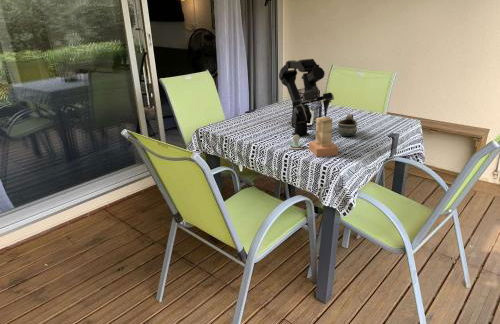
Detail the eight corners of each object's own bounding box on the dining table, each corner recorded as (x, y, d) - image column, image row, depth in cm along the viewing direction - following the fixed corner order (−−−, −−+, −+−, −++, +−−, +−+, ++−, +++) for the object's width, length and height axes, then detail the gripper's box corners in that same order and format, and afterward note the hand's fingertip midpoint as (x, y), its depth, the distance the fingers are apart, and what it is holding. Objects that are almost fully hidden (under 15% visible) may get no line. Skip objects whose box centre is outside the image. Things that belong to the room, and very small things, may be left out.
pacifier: (303, 150, 170) (304, 146, 176) (303, 138, 168) (304, 133, 173) (287, 150, 172) (289, 145, 177) (287, 137, 169) (289, 133, 175)
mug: (336, 137, 185) (337, 118, 181) (338, 130, 196) (339, 111, 192) (355, 139, 182) (357, 119, 178) (356, 131, 193) (358, 112, 189)
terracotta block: (308, 149, 172) (309, 141, 170) (329, 147, 173) (329, 139, 172) (316, 157, 163) (316, 149, 161) (337, 155, 164) (338, 147, 163)
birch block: (315, 143, 168) (316, 118, 163) (324, 141, 170) (325, 116, 165) (321, 146, 164) (322, 120, 159) (331, 144, 166) (332, 119, 161)
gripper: (286, 87, 168) (292, 121, 167) (327, 77, 161) (333, 112, 161) (292, 91, 178) (298, 122, 178) (331, 82, 171) (336, 114, 171)
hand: (315, 118), depth 172 cm, fingers open, 9 cm apart
